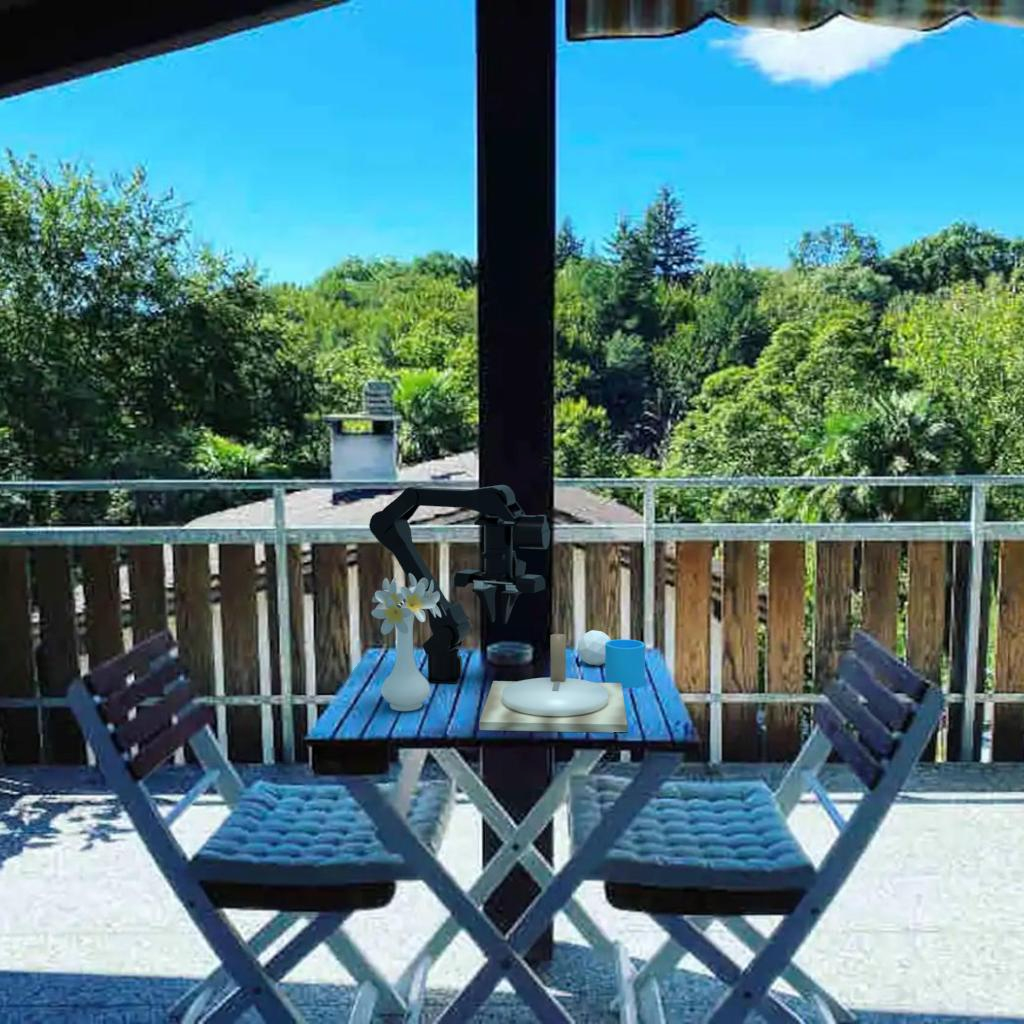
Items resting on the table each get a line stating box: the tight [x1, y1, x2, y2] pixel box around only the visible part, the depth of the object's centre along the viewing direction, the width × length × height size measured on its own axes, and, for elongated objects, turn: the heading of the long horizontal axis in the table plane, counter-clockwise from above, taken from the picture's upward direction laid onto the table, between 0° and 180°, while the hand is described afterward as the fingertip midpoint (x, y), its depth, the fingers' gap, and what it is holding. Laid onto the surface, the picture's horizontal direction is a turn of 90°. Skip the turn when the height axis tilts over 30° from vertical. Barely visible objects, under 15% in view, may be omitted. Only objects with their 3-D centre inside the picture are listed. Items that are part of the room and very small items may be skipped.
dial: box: [502, 633, 608, 716], centre depth 183 cm, size 20×20×10 cm
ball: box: [577, 629, 612, 667], centre depth 215 cm, size 8×8×8 cm
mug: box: [604, 638, 646, 689], centre depth 203 cm, size 12×8×8 cm
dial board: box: [478, 680, 628, 734], centre depth 184 cm, size 26×26×2 cm
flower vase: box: [370, 573, 441, 712], centre depth 183 cm, size 13×18×25 cm
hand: (499, 622), depth 199 cm, fingers open, 3 cm apart
